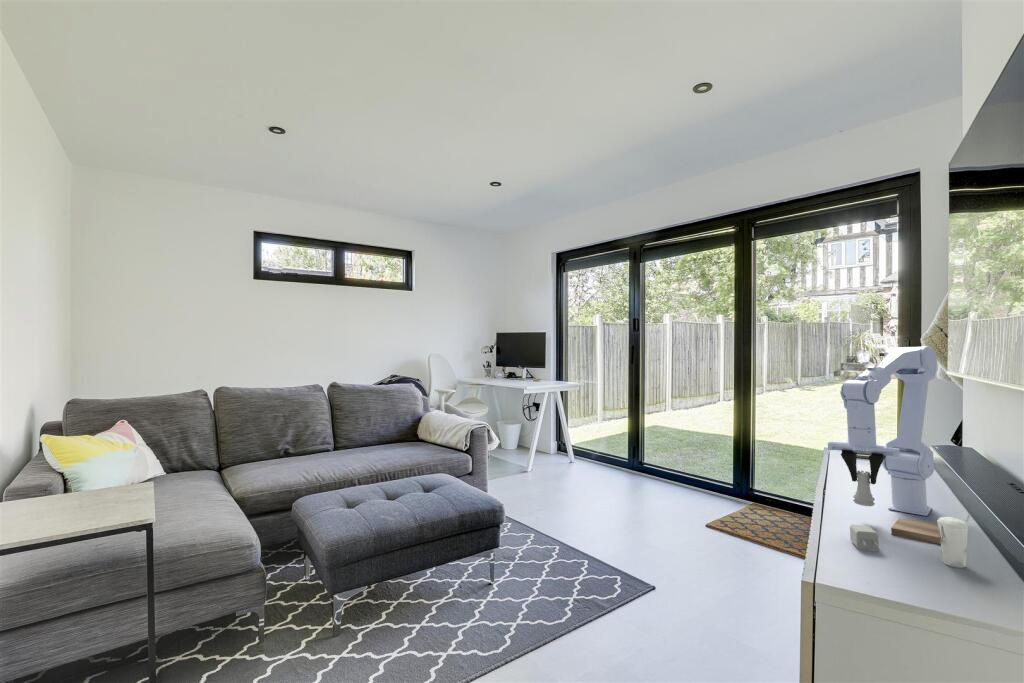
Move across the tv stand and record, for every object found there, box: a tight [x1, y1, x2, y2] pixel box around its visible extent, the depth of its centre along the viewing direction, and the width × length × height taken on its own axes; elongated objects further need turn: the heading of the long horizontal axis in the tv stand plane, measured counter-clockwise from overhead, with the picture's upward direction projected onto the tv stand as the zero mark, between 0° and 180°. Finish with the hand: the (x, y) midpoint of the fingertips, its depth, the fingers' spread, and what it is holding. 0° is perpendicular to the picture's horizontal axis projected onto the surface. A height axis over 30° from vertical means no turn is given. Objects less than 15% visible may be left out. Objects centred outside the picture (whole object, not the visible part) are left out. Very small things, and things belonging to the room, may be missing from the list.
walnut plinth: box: [890, 517, 941, 545], centre depth 110 cm, size 10×10×2 cm
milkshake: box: [936, 513, 971, 569], centre depth 94 cm, size 4×5×10 cm
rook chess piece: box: [852, 470, 876, 507], centre depth 119 cm, size 4×4×8 cm
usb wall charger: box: [849, 523, 880, 552], centre depth 103 cm, size 4×7×4 cm, turn 159°
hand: (864, 482), depth 119 cm, fingers closed on rook chess piece, 3 cm apart
